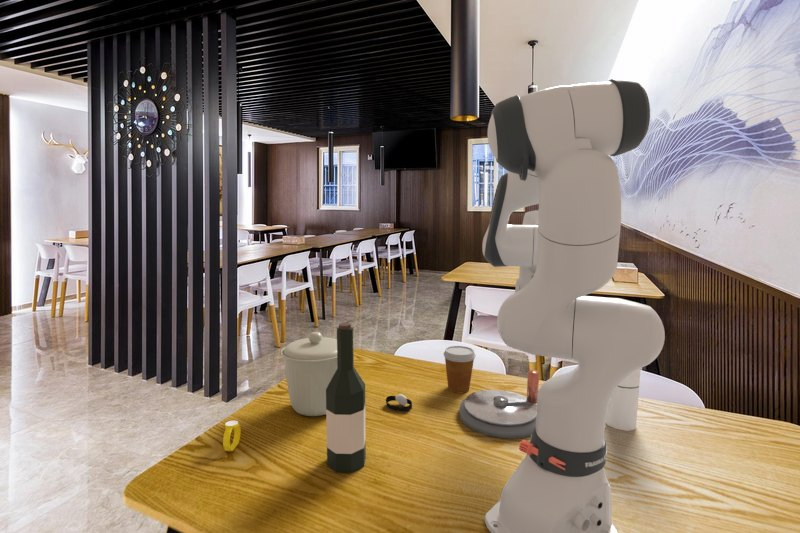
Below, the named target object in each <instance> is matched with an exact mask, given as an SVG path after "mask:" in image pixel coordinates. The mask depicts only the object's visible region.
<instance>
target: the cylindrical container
mask: <svg viewBox="0 0 800 533" xmlns="http://www.w3.org/2000/svg"><path fill="white" fill-rule="evenodd" d="M641 369H642V368H640V369H638V370H636V371H634V372H633V373H631V374H630V375H629V376H627V377H626V378H625V379H624V380H623V381H622V382H621V383H620V384H619V385H618V386H617V388H616V389H615V391H614V392H613V394H612V396H611V399H610V402H609V405H608V410H607V416H606V423H605V425H607V426H608V427H610V428H612V429H616V430H619V431H634V430H636V428H637V418H638V408H639V407H638V404H639V393H640V379H641Z"/></svg>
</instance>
